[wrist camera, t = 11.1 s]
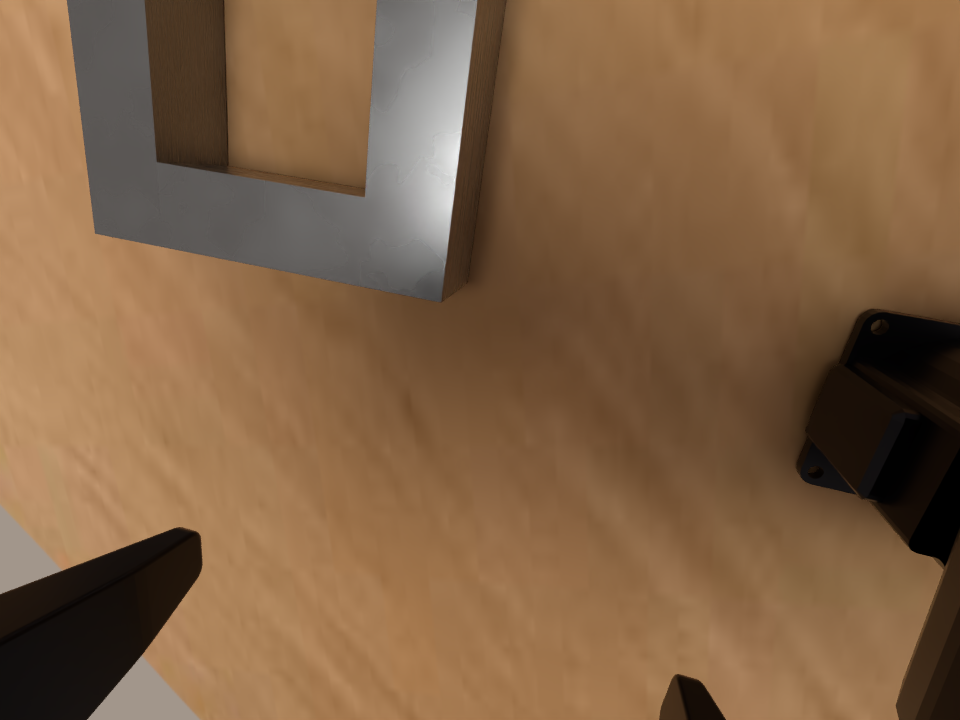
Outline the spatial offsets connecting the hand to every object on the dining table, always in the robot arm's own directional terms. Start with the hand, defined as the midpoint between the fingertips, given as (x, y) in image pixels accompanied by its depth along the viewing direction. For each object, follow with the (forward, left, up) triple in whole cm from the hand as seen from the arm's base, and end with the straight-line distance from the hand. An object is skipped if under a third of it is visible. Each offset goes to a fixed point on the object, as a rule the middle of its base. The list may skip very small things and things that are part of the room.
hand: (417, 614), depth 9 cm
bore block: (+9, -10, -12) cm, 18 cm away
